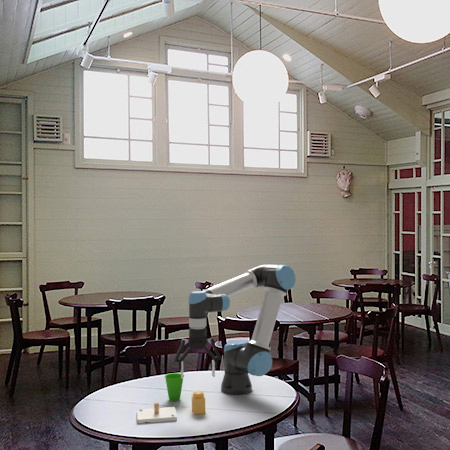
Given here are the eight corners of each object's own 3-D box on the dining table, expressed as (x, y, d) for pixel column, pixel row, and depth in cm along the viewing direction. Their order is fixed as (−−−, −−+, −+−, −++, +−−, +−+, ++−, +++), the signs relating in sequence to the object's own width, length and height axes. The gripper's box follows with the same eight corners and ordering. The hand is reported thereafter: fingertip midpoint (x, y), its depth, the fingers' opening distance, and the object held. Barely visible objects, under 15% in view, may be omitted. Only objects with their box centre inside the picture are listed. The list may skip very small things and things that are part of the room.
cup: (181, 403, 222) (180, 379, 222) (162, 402, 224) (161, 378, 224) (186, 396, 231) (186, 373, 231) (168, 395, 232) (168, 372, 233)
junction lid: (174, 410, 213) (174, 397, 213) (176, 420, 201) (176, 407, 201) (137, 412, 210) (137, 400, 210) (137, 423, 198) (137, 409, 199)
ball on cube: (203, 409, 214) (203, 390, 214) (205, 413, 209) (205, 394, 209) (191, 410, 213) (191, 391, 213) (193, 414, 208) (193, 395, 208)
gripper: (224, 324, 218) (224, 373, 217) (168, 326, 213) (168, 376, 213) (227, 328, 210) (227, 377, 210) (169, 330, 206) (169, 380, 205)
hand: (197, 377), depth 211 cm, fingers open, 13 cm apart
